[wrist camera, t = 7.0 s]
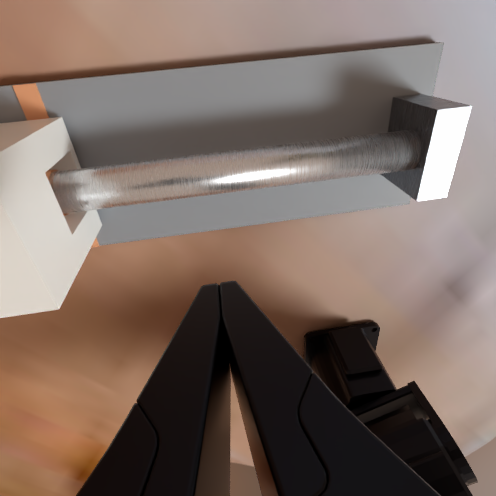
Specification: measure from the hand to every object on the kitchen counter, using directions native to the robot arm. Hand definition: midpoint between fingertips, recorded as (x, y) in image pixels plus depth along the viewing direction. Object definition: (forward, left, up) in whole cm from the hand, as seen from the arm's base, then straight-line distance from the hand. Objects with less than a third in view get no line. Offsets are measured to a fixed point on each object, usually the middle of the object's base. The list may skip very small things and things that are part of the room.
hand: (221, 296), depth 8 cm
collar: (0, +9, -12) cm, 15 cm away
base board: (0, +3, -12) cm, 13 cm away
